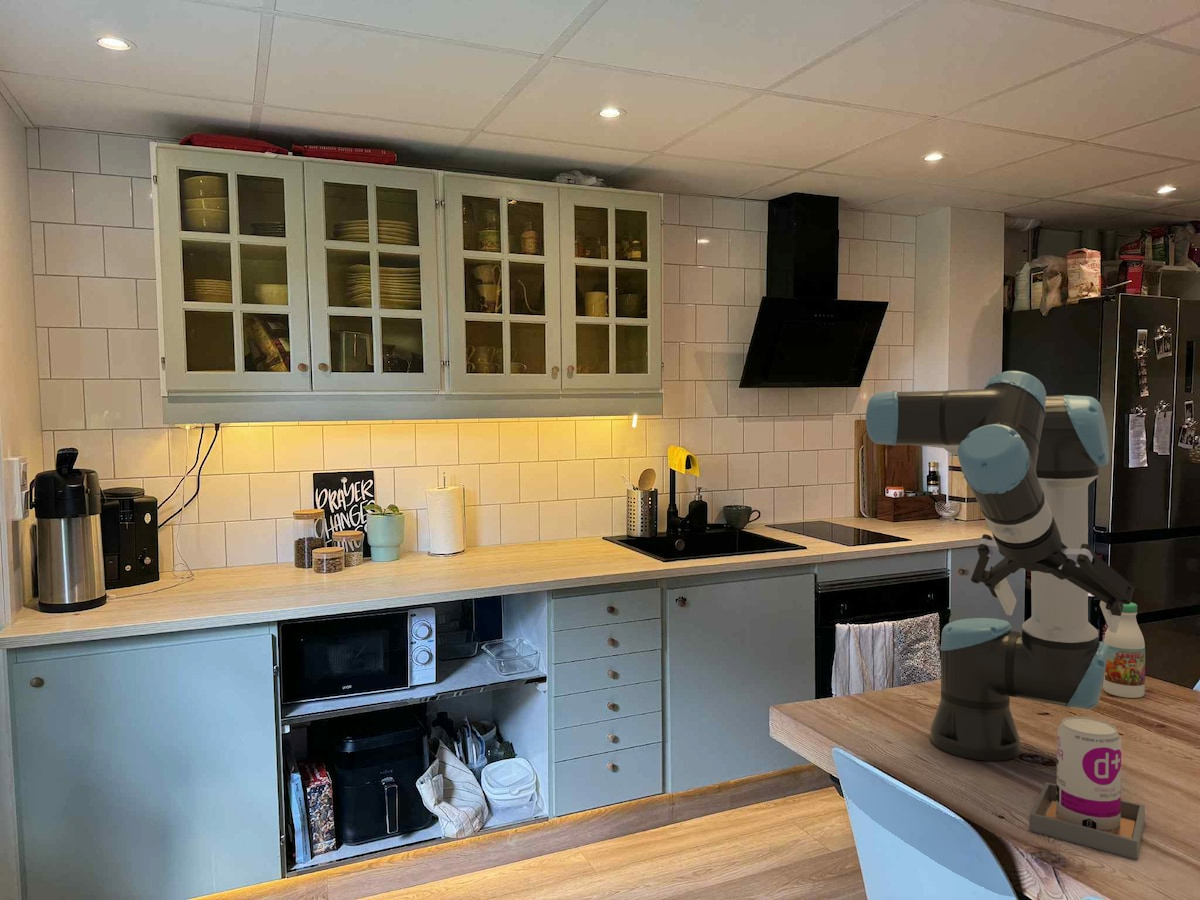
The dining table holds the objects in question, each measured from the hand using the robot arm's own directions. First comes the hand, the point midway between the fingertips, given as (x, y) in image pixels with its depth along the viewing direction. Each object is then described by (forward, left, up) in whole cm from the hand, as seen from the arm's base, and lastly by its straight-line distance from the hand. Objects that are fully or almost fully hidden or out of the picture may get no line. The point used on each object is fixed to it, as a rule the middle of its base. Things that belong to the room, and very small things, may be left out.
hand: (1061, 615), depth 116 cm
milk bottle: (+28, +73, -33) cm, 84 cm away
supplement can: (+5, +5, -32) cm, 33 cm away
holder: (+5, +5, -32) cm, 33 cm away
